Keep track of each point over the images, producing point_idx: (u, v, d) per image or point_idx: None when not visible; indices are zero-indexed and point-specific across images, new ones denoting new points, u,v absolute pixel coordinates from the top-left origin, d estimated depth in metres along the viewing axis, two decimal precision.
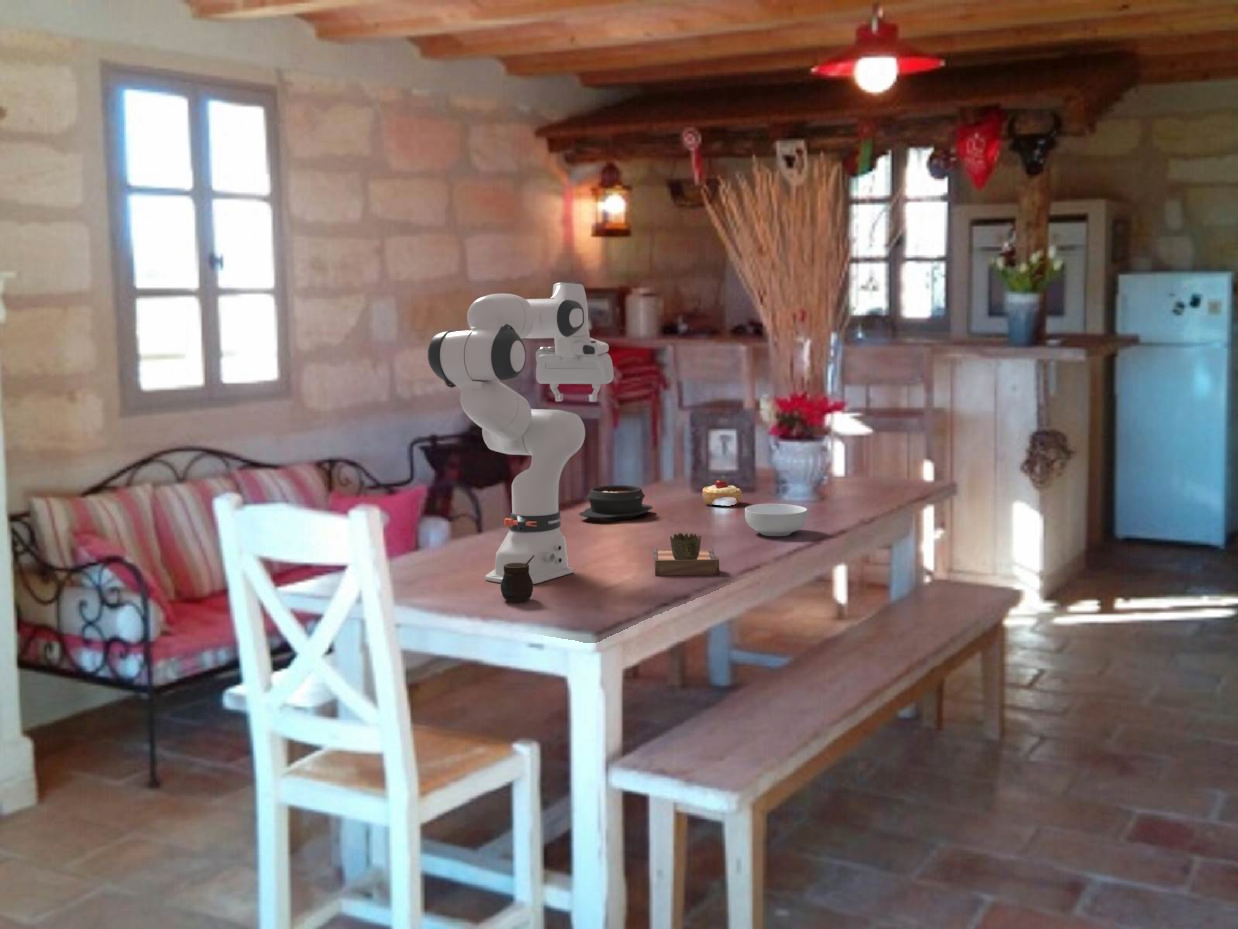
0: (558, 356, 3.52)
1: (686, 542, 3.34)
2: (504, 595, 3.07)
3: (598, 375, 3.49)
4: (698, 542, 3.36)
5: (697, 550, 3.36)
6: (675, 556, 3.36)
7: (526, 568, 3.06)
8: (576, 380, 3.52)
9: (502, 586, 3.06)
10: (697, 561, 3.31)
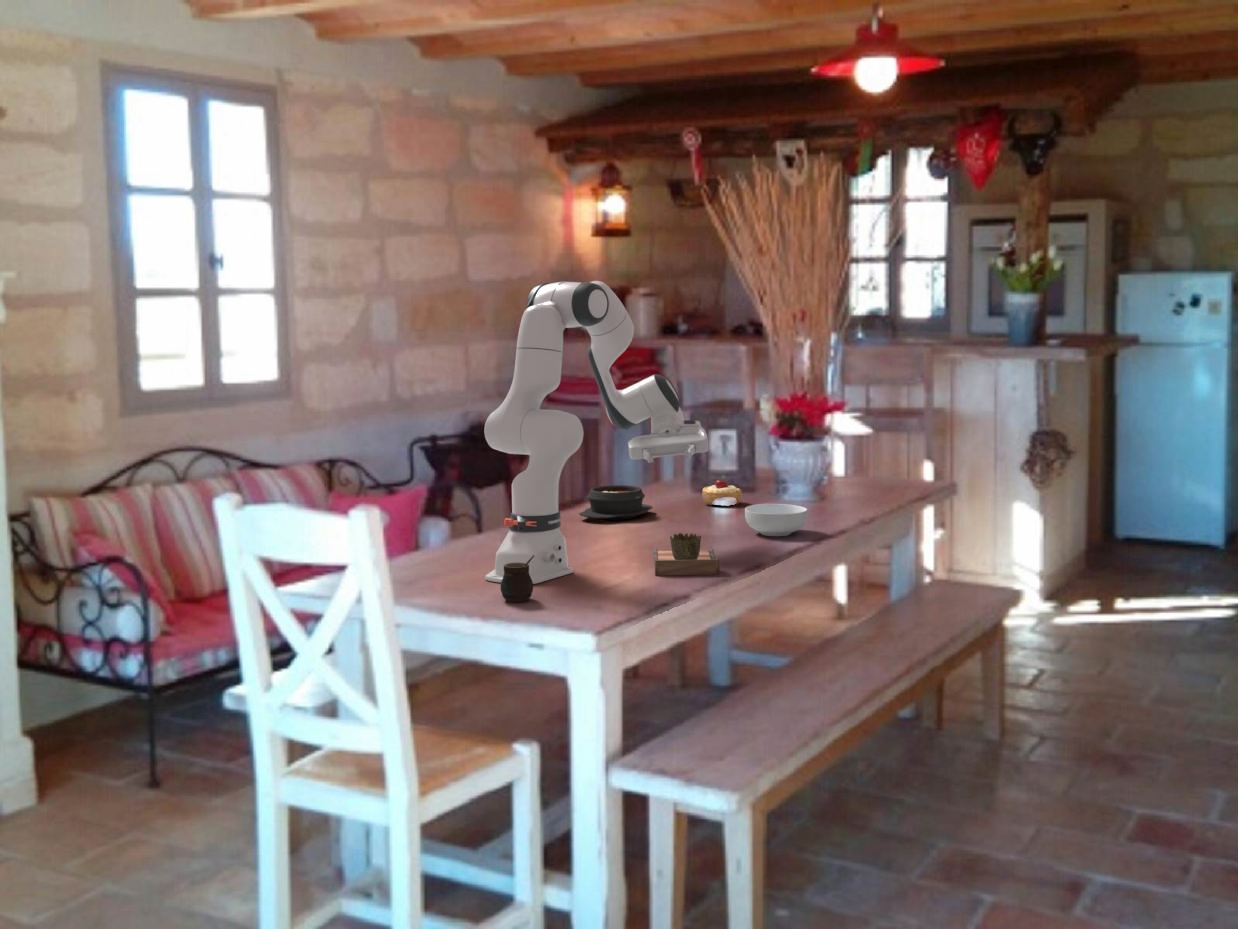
0: (655, 434, 3.60)
1: (686, 542, 3.34)
2: (504, 595, 3.07)
3: (696, 437, 3.55)
4: (698, 542, 3.36)
5: (697, 550, 3.36)
6: (675, 556, 3.36)
7: (526, 568, 3.06)
8: (673, 441, 3.55)
9: (502, 586, 3.06)
10: (697, 561, 3.31)
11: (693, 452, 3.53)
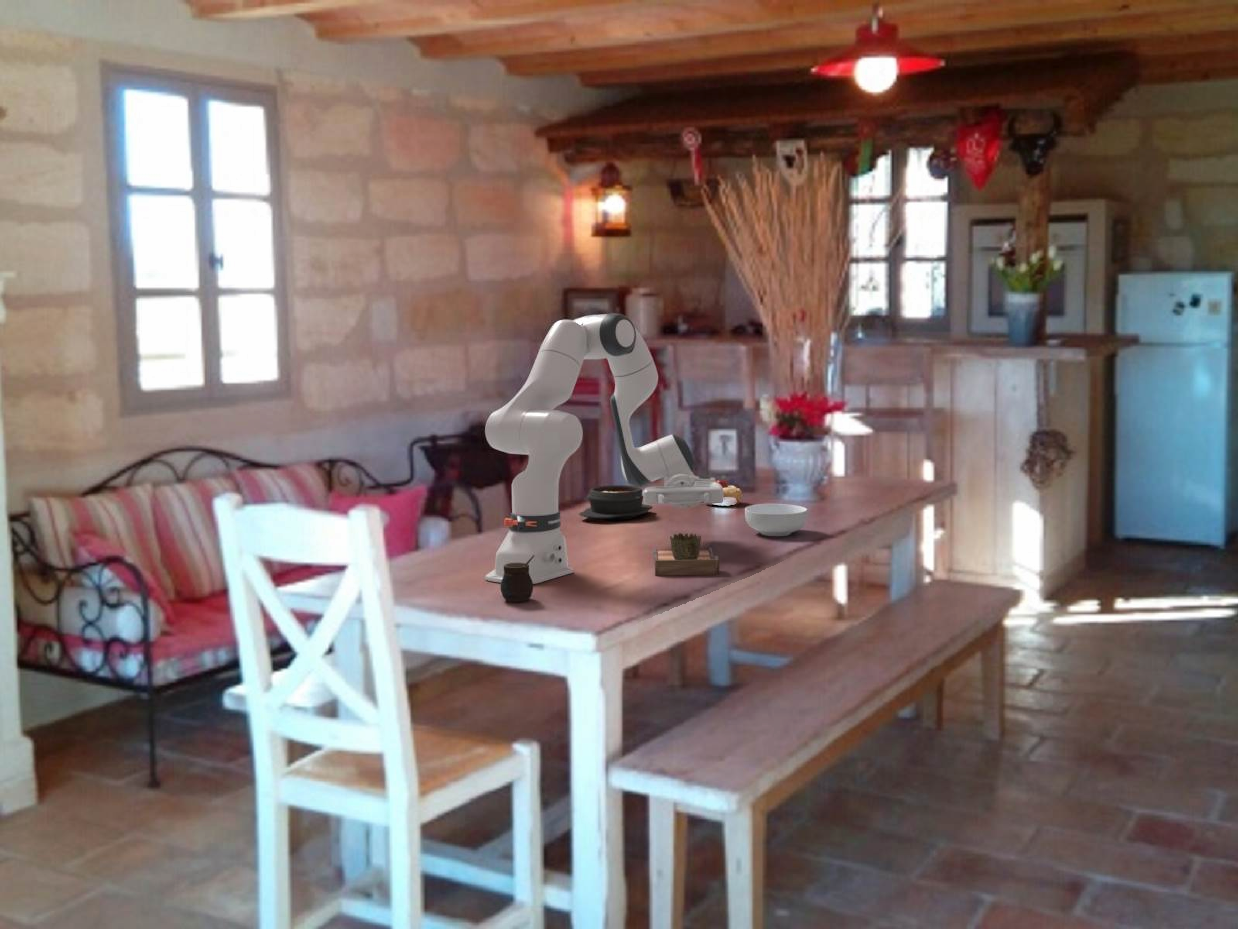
0: (669, 485, 3.60)
1: (686, 542, 3.34)
2: (504, 595, 3.07)
3: (712, 487, 3.55)
4: (698, 542, 3.36)
5: (697, 550, 3.36)
6: (675, 556, 3.36)
7: (526, 568, 3.06)
8: (688, 489, 3.54)
9: (502, 586, 3.06)
10: (697, 561, 3.31)
11: (708, 499, 3.52)
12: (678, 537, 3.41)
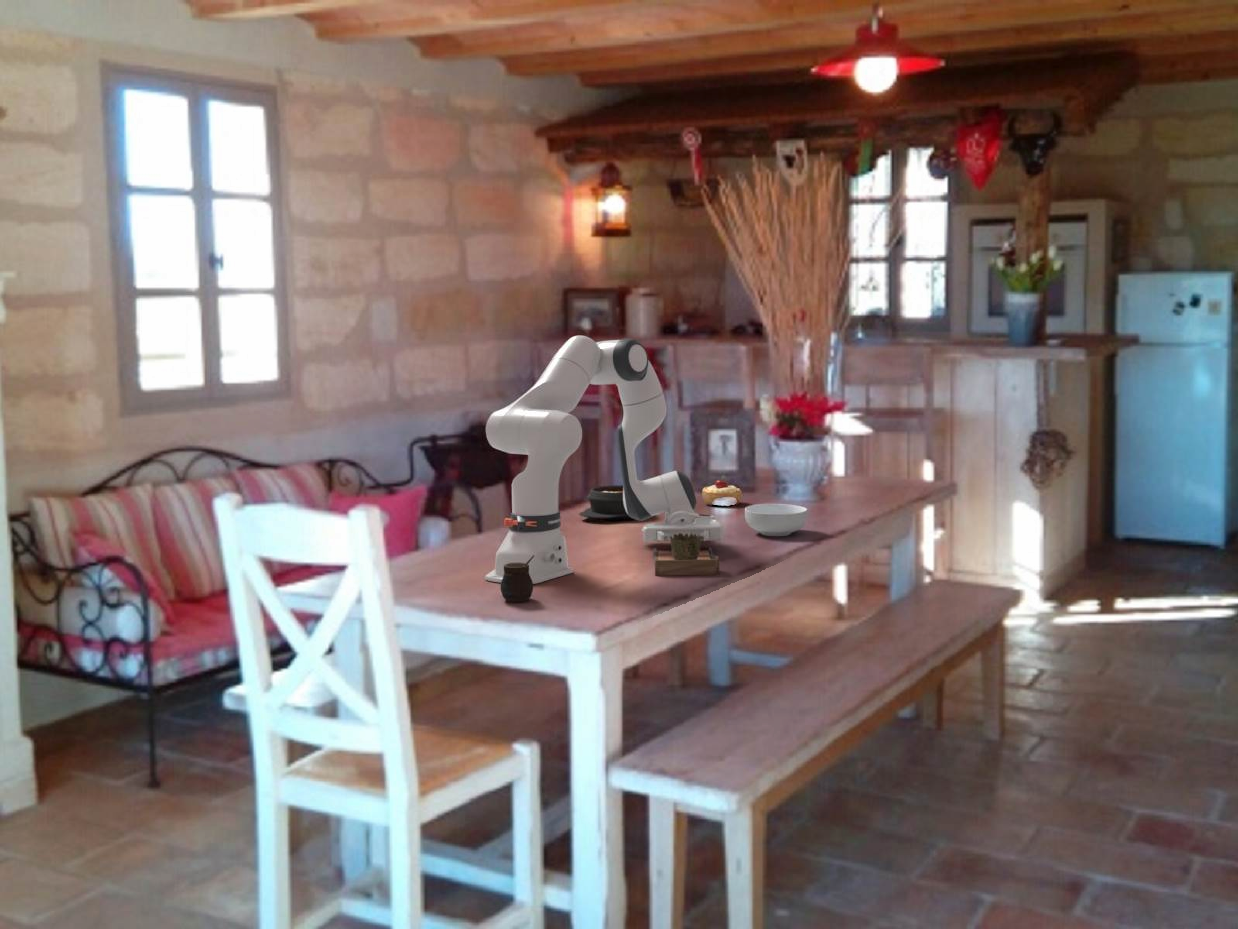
0: (669, 522, 3.61)
1: (686, 542, 3.34)
2: (504, 595, 3.07)
3: (711, 525, 3.56)
4: (698, 542, 3.36)
5: (697, 550, 3.36)
6: (675, 556, 3.36)
7: (526, 568, 3.06)
8: (688, 526, 3.55)
9: (502, 586, 3.06)
10: (697, 561, 3.31)
11: (707, 537, 3.52)
12: (678, 537, 3.41)
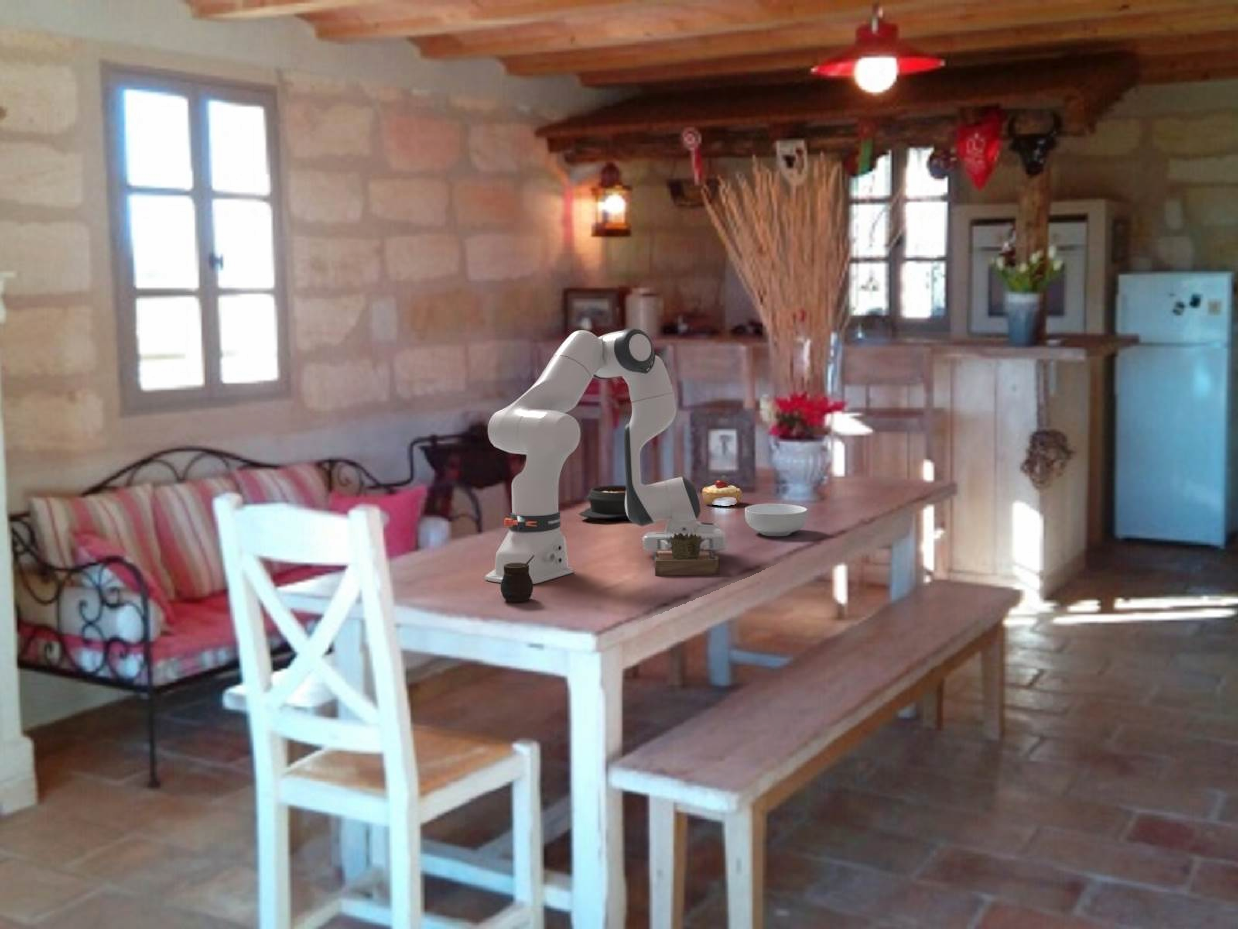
0: (670, 531, 3.48)
1: (686, 542, 3.34)
2: (504, 595, 3.07)
3: (714, 534, 3.43)
4: (698, 542, 3.36)
5: (697, 550, 3.36)
6: (675, 556, 3.36)
7: (526, 568, 3.06)
8: None
9: (502, 586, 3.06)
10: (697, 561, 3.31)
11: (707, 546, 3.40)
12: (678, 537, 3.41)
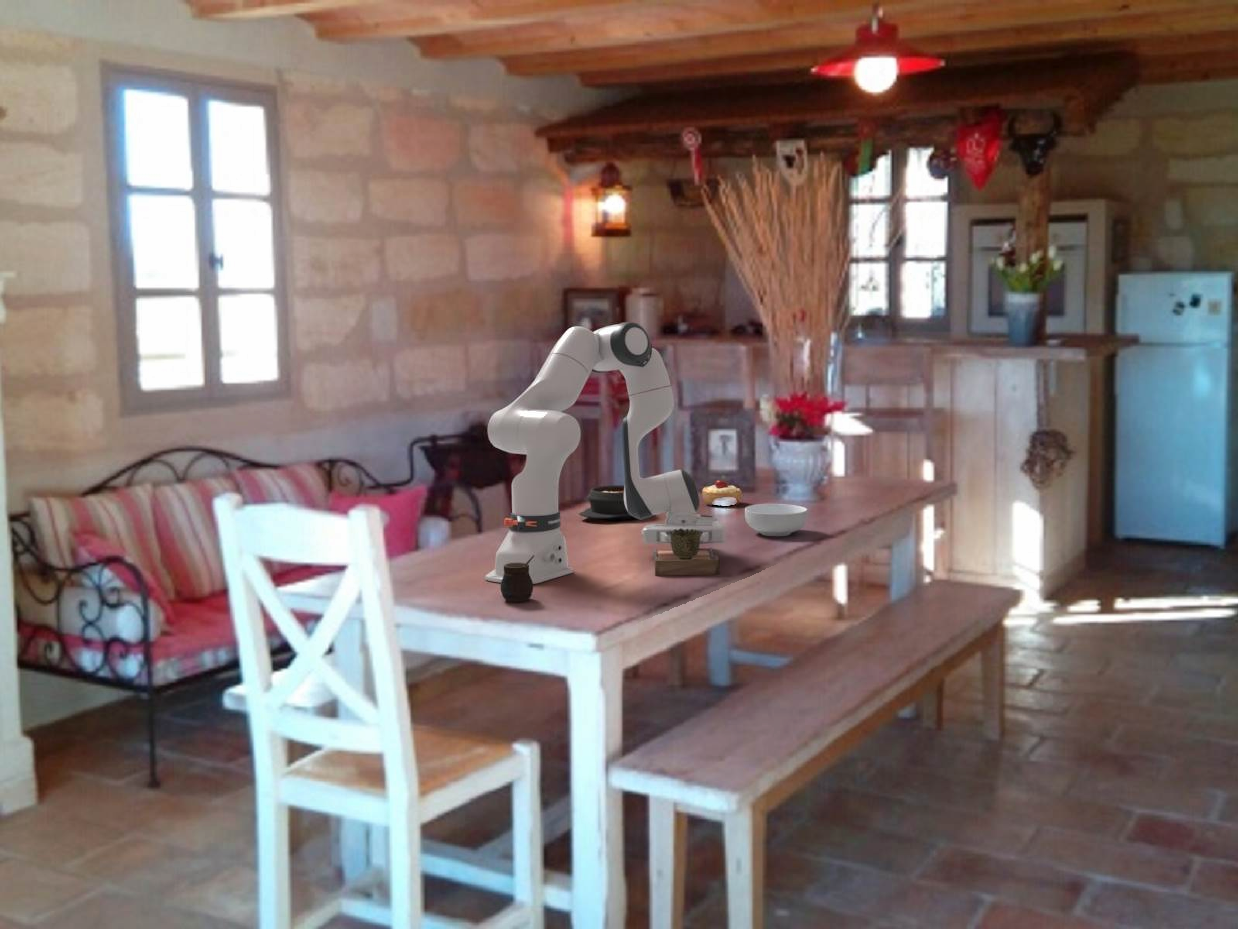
0: (670, 523, 3.48)
1: (685, 538, 3.34)
2: (504, 595, 3.07)
3: (714, 526, 3.43)
4: (697, 538, 3.35)
5: (696, 546, 3.35)
6: (674, 551, 3.36)
7: (526, 568, 3.06)
8: (689, 528, 3.42)
9: (502, 586, 3.06)
10: (697, 561, 3.31)
11: (706, 539, 3.39)
12: (679, 532, 3.40)
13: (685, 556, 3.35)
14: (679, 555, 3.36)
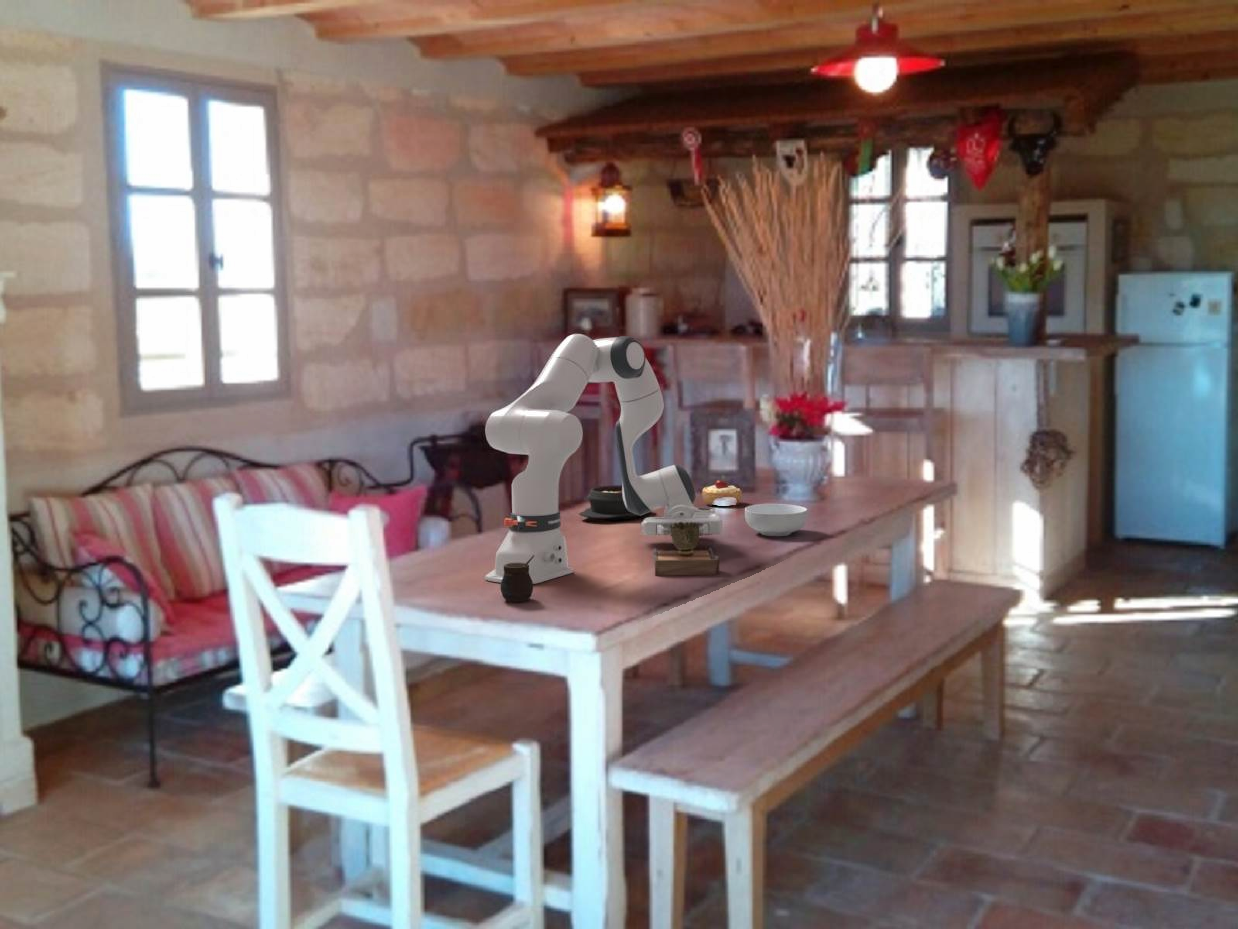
0: (669, 516, 3.62)
1: (684, 530, 3.48)
2: (504, 595, 3.07)
3: (711, 519, 3.57)
4: (696, 530, 3.49)
5: (696, 538, 3.50)
6: (675, 544, 3.51)
7: (526, 568, 3.06)
8: (687, 520, 3.56)
9: (502, 586, 3.06)
10: (697, 561, 3.31)
11: (707, 531, 3.53)
12: (679, 526, 3.55)
13: (685, 548, 3.50)
14: (680, 547, 3.50)
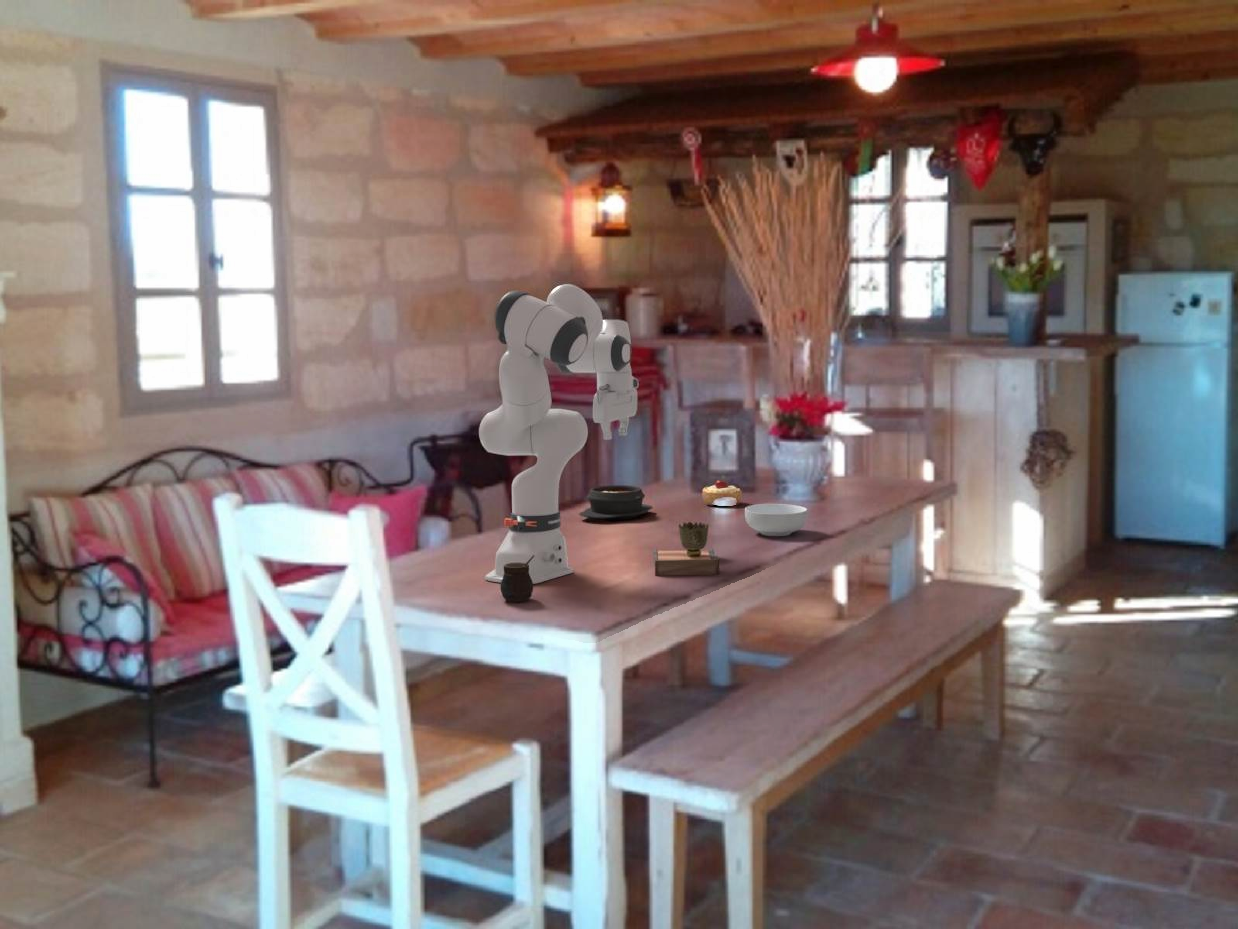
0: (615, 393, 3.54)
1: (693, 530, 3.48)
2: (504, 595, 3.07)
3: (632, 408, 3.64)
4: (705, 530, 3.49)
5: (704, 538, 3.50)
6: (683, 543, 3.50)
7: (526, 568, 3.06)
8: (623, 415, 3.59)
9: (502, 586, 3.06)
10: (697, 561, 3.31)
11: None
12: (687, 526, 3.55)
13: (693, 548, 3.49)
14: (687, 547, 3.50)
